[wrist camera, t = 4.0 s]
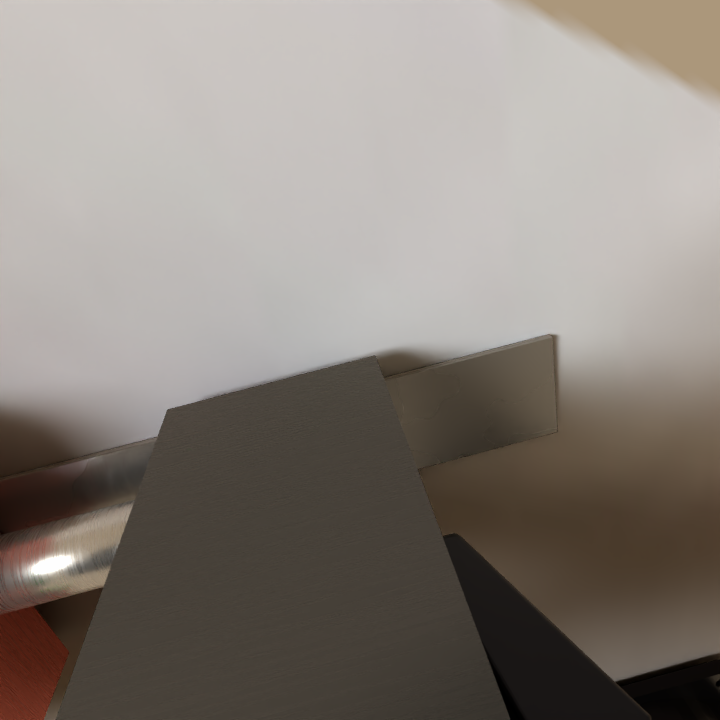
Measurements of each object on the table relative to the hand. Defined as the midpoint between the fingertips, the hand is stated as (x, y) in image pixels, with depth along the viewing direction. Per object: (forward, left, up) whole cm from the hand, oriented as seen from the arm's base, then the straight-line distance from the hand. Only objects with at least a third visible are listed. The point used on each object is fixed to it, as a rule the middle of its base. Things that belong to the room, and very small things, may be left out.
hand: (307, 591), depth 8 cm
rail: (0, 0, -4) cm, 4 cm away
